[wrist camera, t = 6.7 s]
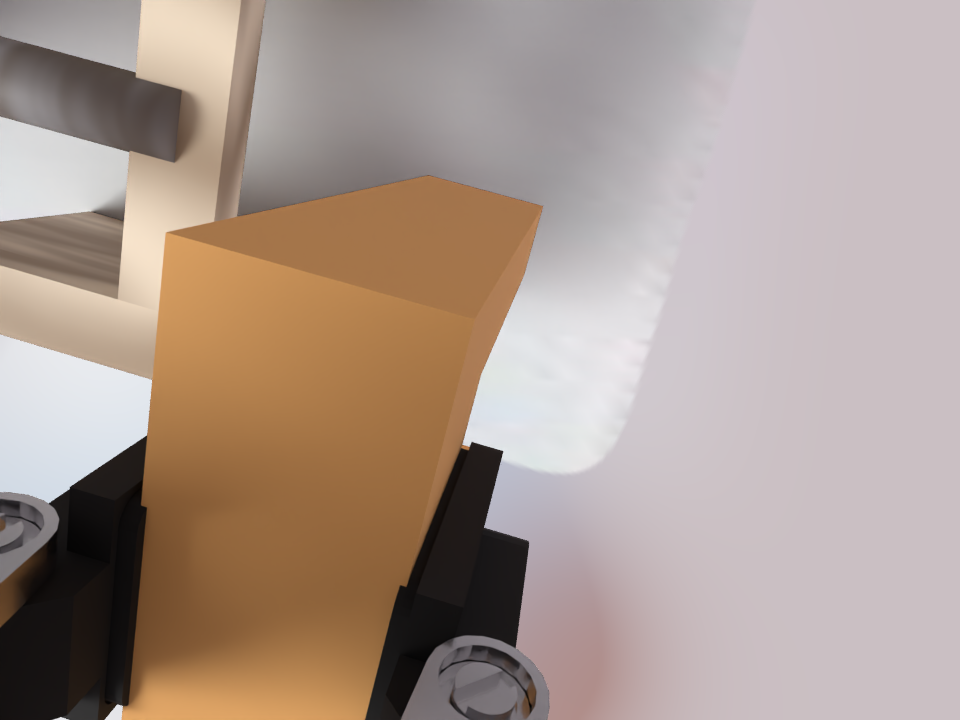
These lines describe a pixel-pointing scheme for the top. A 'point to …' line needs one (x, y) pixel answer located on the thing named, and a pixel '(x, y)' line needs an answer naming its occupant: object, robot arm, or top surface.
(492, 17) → the top surface
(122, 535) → the robot arm
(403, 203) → the orange u-shaped block
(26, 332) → the open wooden frame
